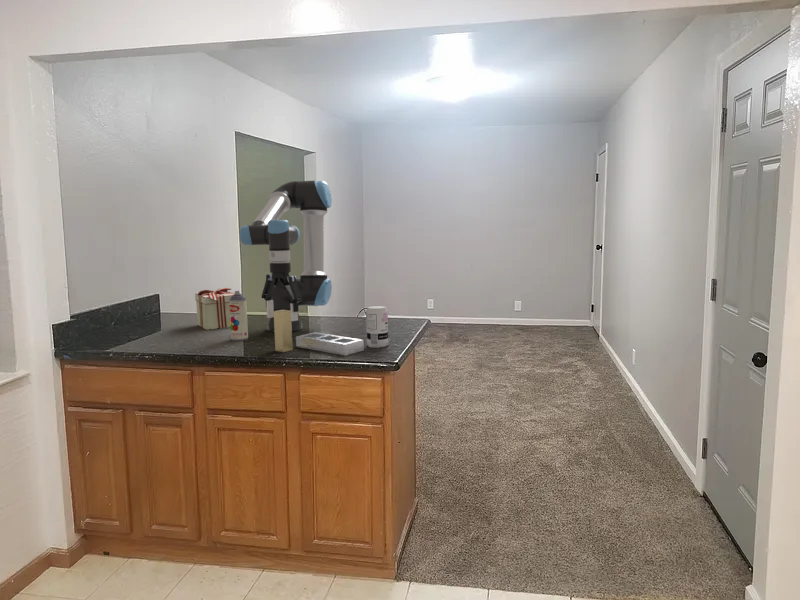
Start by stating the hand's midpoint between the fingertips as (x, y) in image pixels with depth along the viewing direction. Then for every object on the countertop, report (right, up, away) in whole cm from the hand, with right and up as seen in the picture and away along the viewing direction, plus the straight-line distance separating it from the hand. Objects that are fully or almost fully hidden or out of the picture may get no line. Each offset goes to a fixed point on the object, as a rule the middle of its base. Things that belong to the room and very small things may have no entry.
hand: (282, 319), depth 234 cm
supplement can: (+35, -11, +7) cm, 38 cm away
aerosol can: (-22, -9, +24) cm, 34 cm away
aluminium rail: (+17, -11, +4) cm, 21 cm away
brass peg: (0, -12, +2) cm, 12 cm away
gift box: (-39, -5, +54) cm, 66 cm away
